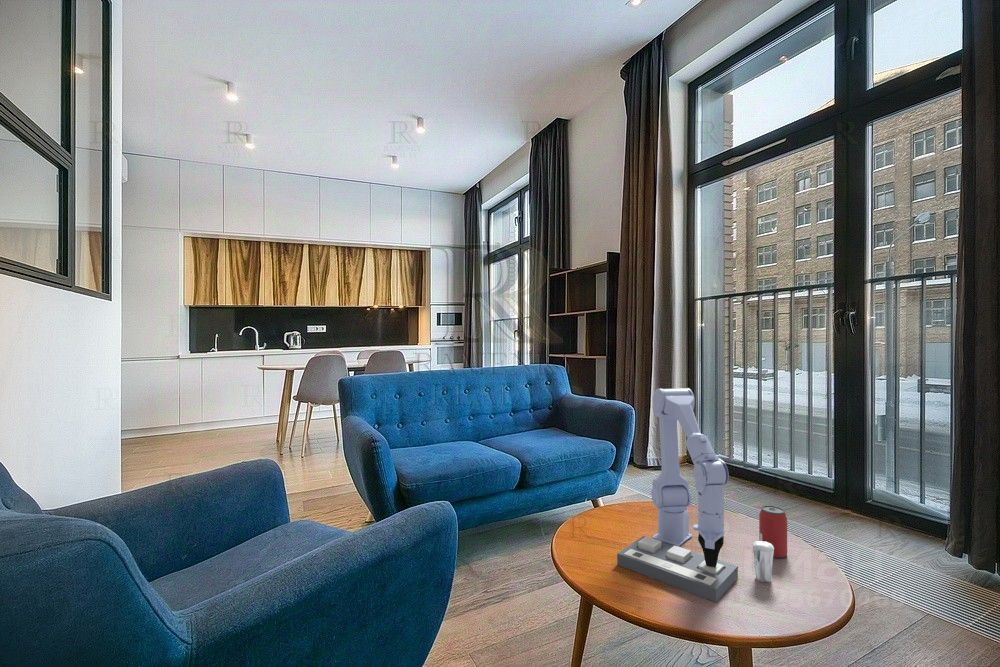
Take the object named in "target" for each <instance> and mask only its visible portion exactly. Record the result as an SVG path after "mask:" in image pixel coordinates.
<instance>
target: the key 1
mask: <svg viewBox="0 0 1000 667" xmlns="http://www.w3.org/2000/svg"><path fill="white" fill-rule="evenodd" d="M661 542H662V541H659V540H656V539H653V537H649V536H645V537H644V538H643V539H641V540H640V541H638V548H640V549H643V550H646V551H648V552H651V553H654V554H655V553H656V552H657V551H659V550H660V549H661V548H662V547H661Z"/></svg>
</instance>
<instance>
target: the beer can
mask: <svg viewBox="0 0 1000 667" xmlns="http://www.w3.org/2000/svg"><path fill="white" fill-rule="evenodd" d="M758 520H759V521H758V522H759V524H758V525H759V527H758V528H759V529H758V530H759V531H758V533H759V536H758V537H759V540H758V541H760V533H761V534H762V541H764V542H768V543H771V544H772V545H773V547H774V554H773V559H774V558H775V559H781V558H785V557H786V556H788V518H787V515H786V511H785V509H784V508H782V507H779V506H776V505H768V504H767V505H763V506H761V510H760V512H759V515H758Z"/></svg>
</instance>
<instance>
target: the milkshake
mask: <svg viewBox="0 0 1000 667" xmlns="http://www.w3.org/2000/svg"><path fill="white" fill-rule="evenodd" d="M752 549H753V550H752V551H753V552H752V553H753V559H754V570H755V571H754V572H755V579H756V580H757V581H758V582H760V583H764V584H765V583H767V584H769V583H770V582H772V575H773V563H774V562H773V560H774V557H773V554H774V547H773V545H772V544H771V543H768V542H764V541H762V534H761V533H760V541H759V540H755V541H754V542H753V543H752Z"/></svg>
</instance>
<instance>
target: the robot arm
mask: <svg viewBox="0 0 1000 667" xmlns="http://www.w3.org/2000/svg"><path fill="white" fill-rule="evenodd" d="M695 402H696V401H695V395H694V392H693V391H692V389H691V388H689V387H685V388H656V389H655V391H654V393H653V396H652V404H653V406H652V407H653V416H655V417H657V418H658V421H659V422H658V423H659V425H658V426H659V443H660V444H659V445H660V446H659V447H660V464H661V473H660V474H658V476H656V477H654V478H653V480H652V486H651V487H652V488H651V491H650V492H651V493H650V494H651V500H652V503H653V505H654V506H655V507H656V508H657V525H658V526H657V531H658V532H657V533H655V534H654V535H653V536H652V538H653V539H656V540H659V541H661V542H664V543H667V544H670V545H673V546H674V545H675V546H678V547H681V545H683V544H684V543H685V542H687V541H688V540H689V539H690V538H692V537H693V534H691V533H690V515H689V510H688V507H690V505H691V502H692V493H691V490H690V485H689V481H688V480H687V479H686V478H685V477H683V476H682V475H681V473H680V456H679V454H680V453H679V452H680V451H679V437H678V436H679V435H678V434H679V433H678V423H679V426H680V427H681V428H682V430H683V433H684V434H685V436H686V441H685V443H684V444H685V447H686V449H687V452H688V455H689V456H690V458H691V461H692V463H693V469H692V472H693V473H692V474H693V478H694V481H695V490H696V491H697V520H698V521H697V523H696V524H694V523H693V526H692V529H693V530H694V531H697V532H698V536H697V541H698V543H699V545H700V548H701V549H702V552H703V555H704V558H705V563H706V566H709V567H714V568H716V565H717V560H719V554H720V551H721V549H722V548H723V545H724V542H725V541H724V540H725V539H724V538H725V536H724V535H725V534H726V531H725V524H724V523H725V519H724V518H725V515H724V514H725V513H724V508H725V507H724V506H725V505H724V504H725V503H724V502H725V500H724V499H725V498H724V497H725V496H724V495H725V494H724V490H725V489H724V485H727V484H728V482H729V479H730V475H729V469H728V466H727V464H726V462H725V461H724V460H722V459H721V457H720V456H718V455H717V454H716V453H715V450H714V448H713V446H712V444H711V442H710V440H709V437H708V436H707V435H705V434H702V433H701V430H700V427H699V424H698V421H697V418H696V416H695V413H694V410H695V404H696V403H695Z"/></svg>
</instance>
